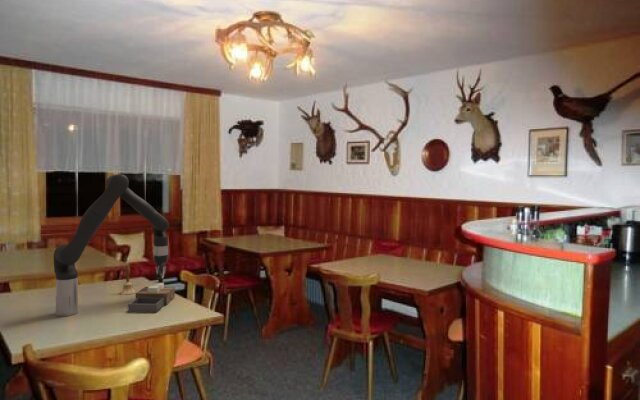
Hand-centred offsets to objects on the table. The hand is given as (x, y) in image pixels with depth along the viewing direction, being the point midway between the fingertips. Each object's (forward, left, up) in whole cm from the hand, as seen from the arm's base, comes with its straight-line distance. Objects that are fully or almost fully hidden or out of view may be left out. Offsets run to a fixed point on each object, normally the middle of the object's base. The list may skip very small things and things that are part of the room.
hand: (160, 284), depth 253 cm
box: (-22, 0, -7) cm, 23 cm away
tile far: (-5, 0, -1) cm, 6 cm away
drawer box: (-9, 0, -7) cm, 11 cm away
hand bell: (+7, +21, -7) cm, 23 cm away
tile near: (-11, 0, -1) cm, 12 cm away
